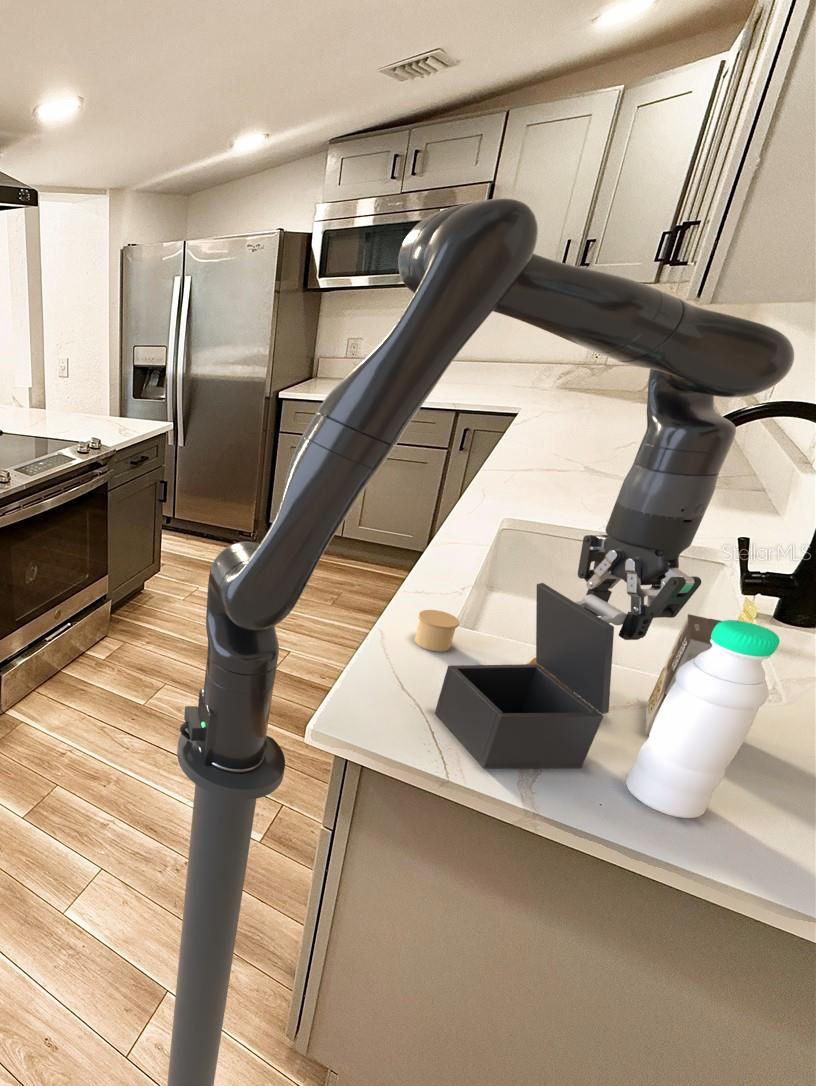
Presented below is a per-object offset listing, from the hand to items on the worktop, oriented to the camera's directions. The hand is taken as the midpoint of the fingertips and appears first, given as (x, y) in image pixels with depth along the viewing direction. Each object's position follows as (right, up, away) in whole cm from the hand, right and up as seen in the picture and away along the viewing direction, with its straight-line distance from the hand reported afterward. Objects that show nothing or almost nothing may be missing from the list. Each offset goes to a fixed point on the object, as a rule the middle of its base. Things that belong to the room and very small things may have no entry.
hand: (610, 625), depth 79 cm
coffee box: (+18, -16, +9) cm, 25 cm away
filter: (-2, -7, +31) cm, 32 cm away
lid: (-4, -3, +2) cm, 5 cm away
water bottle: (+4, -22, -2) cm, 22 cm away
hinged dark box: (-7, -17, +8) cm, 21 cm away
